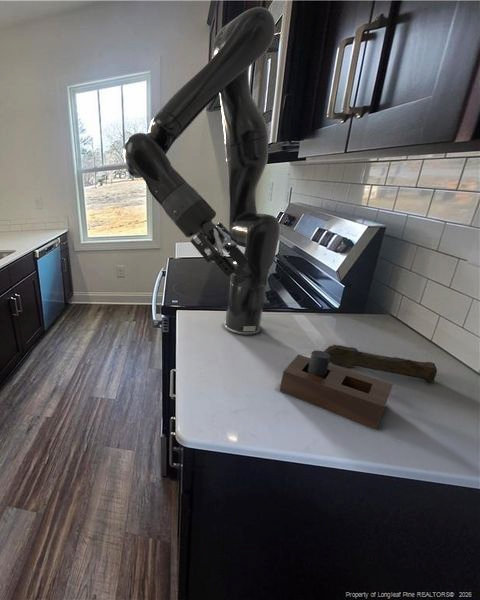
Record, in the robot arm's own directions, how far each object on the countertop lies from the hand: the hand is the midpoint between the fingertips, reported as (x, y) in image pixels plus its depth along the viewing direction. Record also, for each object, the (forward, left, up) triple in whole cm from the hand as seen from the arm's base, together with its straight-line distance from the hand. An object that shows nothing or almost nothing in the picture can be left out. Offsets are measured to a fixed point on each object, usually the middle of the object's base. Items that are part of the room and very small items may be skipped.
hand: (238, 268), depth 65 cm
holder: (-5, +19, -25) cm, 32 cm away
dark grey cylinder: (-5, +16, -25) cm, 30 cm away
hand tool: (-22, +23, -26) cm, 41 cm away
